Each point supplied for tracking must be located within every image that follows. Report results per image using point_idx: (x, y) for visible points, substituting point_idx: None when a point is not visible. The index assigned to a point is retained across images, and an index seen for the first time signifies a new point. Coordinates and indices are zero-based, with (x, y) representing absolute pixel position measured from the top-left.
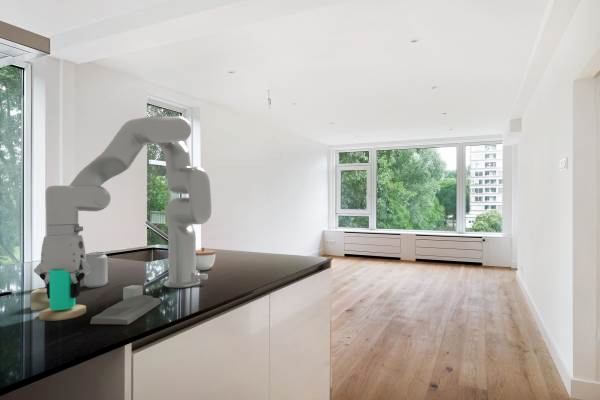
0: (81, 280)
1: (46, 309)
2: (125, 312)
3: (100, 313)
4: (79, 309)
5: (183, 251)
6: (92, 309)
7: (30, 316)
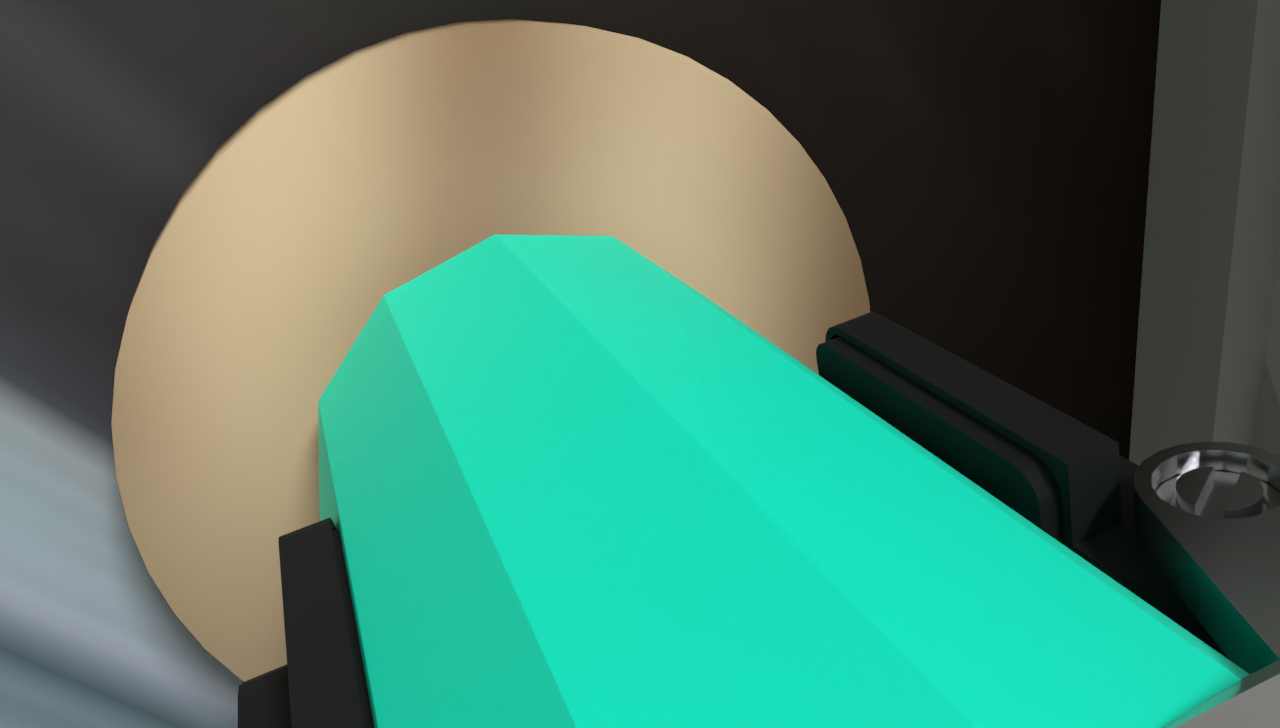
0: (1232, 469)
1: (167, 505)
2: None
3: (1223, 421)
4: (794, 311)
5: None
6: (794, 3)
7: (20, 664)
